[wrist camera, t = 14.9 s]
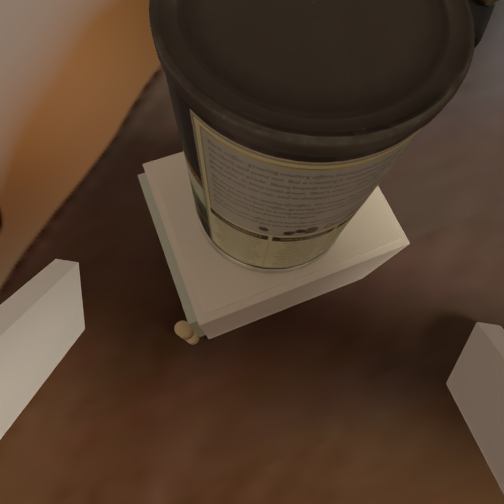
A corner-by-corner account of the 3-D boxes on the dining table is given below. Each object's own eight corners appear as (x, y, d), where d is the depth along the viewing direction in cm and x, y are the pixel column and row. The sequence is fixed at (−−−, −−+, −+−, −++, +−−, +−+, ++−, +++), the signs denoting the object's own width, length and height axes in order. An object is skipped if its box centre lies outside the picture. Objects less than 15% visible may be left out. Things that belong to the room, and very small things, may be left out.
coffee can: (163, 191, 25) (81, -25, 11) (278, 113, 27) (322, -140, 14) (262, 309, 23) (304, 213, 9) (377, 212, 25) (543, 28, 12)
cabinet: (363, 279, 34) (413, 242, 24) (191, 347, 31) (173, 336, 22) (308, 170, 37) (334, 101, 28) (149, 224, 35) (118, 167, 25)
